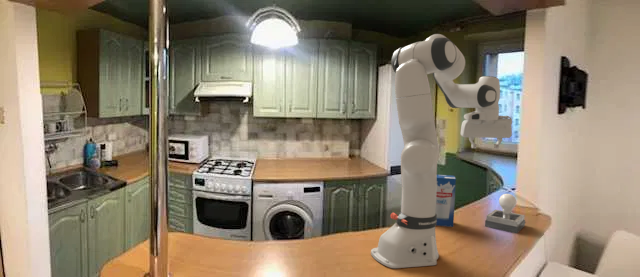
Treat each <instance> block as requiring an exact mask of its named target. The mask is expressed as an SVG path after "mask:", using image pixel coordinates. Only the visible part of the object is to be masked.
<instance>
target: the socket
mask: <svg viewBox="0 0 640 277" xmlns="http://www.w3.org/2000/svg"><path fill="white" fill-rule="evenodd" d="M484 221H485V222H484V227H487V228H490V229H491V228H492V229H495V230H498V231H504V232H508V233H513V234H518V233H519V232H520V231H522V229H523V228H524V227H525V226H526V219H525V214H521V213H515V212H511V213H510V219H505V218H503V211H502V210H500V209H494V210H492V211H491V212H489V214H487V215H486V218H485V220H484Z"/></svg>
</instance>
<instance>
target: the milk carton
mask: <svg viewBox="0 0 640 277" xmlns="http://www.w3.org/2000/svg"><path fill="white" fill-rule="evenodd" d="M456 180H457V178H456V176H455V175H452V174H451V175H449V174H448V175H447V174H437V192H436V214H437V225H436V226H439V227H447V228H448V227H451V228H452V227H454V222H455V220H454V218H455V202H456V200H455V199H456V182H457V181H456Z"/></svg>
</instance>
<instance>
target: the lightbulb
mask: <svg viewBox="0 0 640 277" xmlns="http://www.w3.org/2000/svg"><path fill="white" fill-rule="evenodd" d="M498 203H499V205H500V207H501V211H503V218H505V219H510V213H512V212H513V209H514V208H515V207H516V206H517V199H516V196H514V195H513V194H511V193H504V194H501V195H500V196H499V199H498Z"/></svg>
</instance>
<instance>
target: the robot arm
mask: <svg viewBox="0 0 640 277" xmlns="http://www.w3.org/2000/svg"><path fill="white" fill-rule="evenodd" d="M390 60H391V67H392V70H393V72H394V74H395V76H394V78H395V79H394V89H395V90H394V91H395V94H394V95H395V101H396V102H395V103H396V107H397V108H396V109H397V110H396V111H397V115H398V117H397V118H398V124H399V127H400V130H401V134H402V135H401V136H402V140H403V144H404V145H403V146H404V147H403V148H402V150H401V153H400V174H401V175H400V179H401V208H400V211H399V214H398V213H395V212H392V213H391V214H390V218H391V219H392V220H394V221H395V223H394V224H393V225H392V226H390V227H389V228H388V229H387V230H386V231H385V232H384V233H382V234H381V235H380V236H379V240H378V244H377V247H374V248H371V250H370V254H371V256H372V258H373V259H374V260H376V262H378V263H380V264H382V265H383V266H386V267H388V268H390V269H401V268H403V269H406V268H414V267H415V268H417V267H427V266H436V265H437V264H438V261H437V260H438V259H439V257H440V254H439V251H438V248H437V247H438V246H437V238H436V226H437V214H436V192H437V175H438V174H437V173H438V161H439V157H440V149H439V143H438V135H437V129H436V123H435V116H434V110H433V101H432V94H431V93H432V92H431V86H430V82H429V78H428V75H430V74H432V77H433V80H434V82H435V83H436V85H437V87H438V88H439V89H440V91H441V93H442V94H443V96H444V98H445V101H446V103H447V104H448V106H449V107H450V108H452V109H462V108H463V109H465V108H466V109H467V108H468V109H475V111H472V112H468V113H465V114H464V115H463V119H464V120H463V121H462V122H461V127H460V136H461V137H462V138H468V140H469V143H470V144H471V146H470V148H471V149H476V148H477V144H476V143H475V142H474V141H475V138H477V139H478V138H482V139H483V138H485V139H486V138H487V139H489V138H491V139H493V138H494V139H496V140H497V141H496V143H494V144H493V149H500V145H501V143H502V142H503V139H510V138H511V137H513V136H512V135H513V134H512V133H513V131H512V130H513V129H512V128H513V127H512V124H513V119H512V117H510V116H508V115H500V106H499V101H500V98H501V84H500V79H499V78H498V77H496V76H492V75H482V76H481V77H479V78H478V82H476V83H468V84H467V83H466V84H464V83H463V84H461V83H460V84H459V83H455V81H454V80H456V79H457V78H458V77H459V76H460V75H461V74H462V73H463V72H464V70H465V67H466V59H465V56H464V54H463V53H462V52H461V51H460V49H459V48H458V47H457V45H455V43H454V42H453V41H452V40H451V39H449V38H448V37H446V36H445V35H444V34H440V33H434V34H432V35H430V36H429V37H427V38H426V39H424V40H423V41H421V40H420V41H416V42H413V43H410V44H408V45H405V46H402V47H399V48H398V49H396V50H394V52H393V53H392V56H391V59H390Z"/></svg>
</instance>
